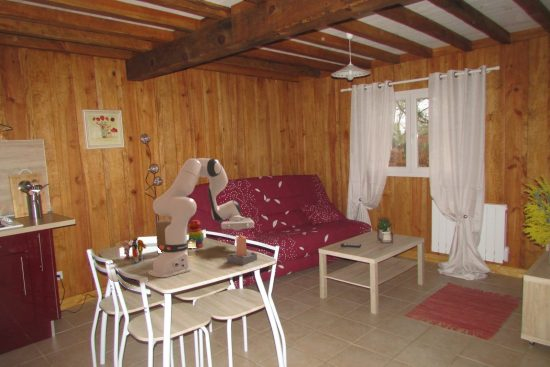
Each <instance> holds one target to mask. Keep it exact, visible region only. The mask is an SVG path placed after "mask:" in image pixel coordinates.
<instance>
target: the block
mask: <svg viewBox="0 0 550 367" xmlns="http://www.w3.org/2000/svg"><path fill="white" fill-rule="evenodd" d="M171 222H172V218H171V219H170V218H162V219H160V220H157V221H156V222H155V228H156V229H155V231H156V247H158V248H159V246H160V245H162V246H164V245H165V243H166V242H165V229H166V227H167V226H168V225H170V224H171ZM159 249H160V248H159ZM160 250H161V252H163V249H160Z"/></svg>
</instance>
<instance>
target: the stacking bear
mask: <svg viewBox="0 0 550 367" xmlns="http://www.w3.org/2000/svg"><path fill="white" fill-rule="evenodd" d="M188 228H190V229H189V232H188V240H191V239H193V240H196V247H197V249H200V248H203V247H204V242H203V241H204V233H203V229H201V221H200V220H199V219H193V220H191V221H190V223H188Z"/></svg>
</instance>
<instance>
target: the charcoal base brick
mask: <svg viewBox="0 0 550 367" xmlns="http://www.w3.org/2000/svg"><path fill="white" fill-rule="evenodd" d="M257 260H258V253H256V252H255V251H252V252H249V251H247V256H238V255H237V251H236V252H234V253H233V252H232V253H228V255H226V263H231V264H236V265H240V266H241V265H242V266H245V265H248V264H250V263H253V262H255V261H257Z"/></svg>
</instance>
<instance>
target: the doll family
mask: <svg viewBox="0 0 550 367" xmlns="http://www.w3.org/2000/svg"><path fill="white" fill-rule="evenodd" d="M131 241H132V242H131V244H129V243H130V242H129V241H128V240H124V241H123V242H122V245H121V247H123V251H124V252H123V254H124V255H125V257H124V260H130V259H131V257H130V250H132V260H133V261H132V265H138V264H139V263H140V262H143V261H144V259H143V258H144V257H143V250H145V249H146V248H147V245H146V244H145V243H144V241H143V240H142V239H139V236H132V237H131Z"/></svg>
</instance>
